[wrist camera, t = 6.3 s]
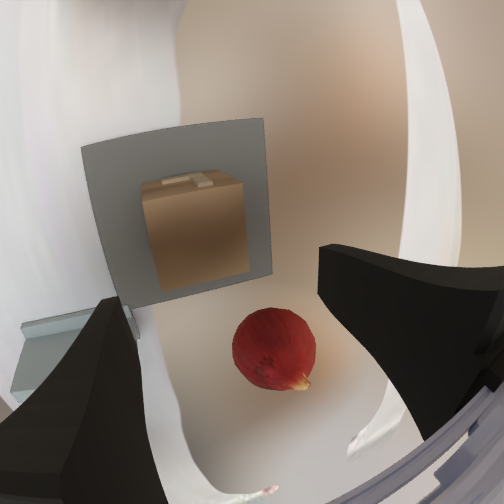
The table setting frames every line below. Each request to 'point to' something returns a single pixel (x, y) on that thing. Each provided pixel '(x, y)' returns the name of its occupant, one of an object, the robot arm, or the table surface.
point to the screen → (50, 348)
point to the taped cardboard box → (196, 228)
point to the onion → (275, 350)
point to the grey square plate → (164, 166)
